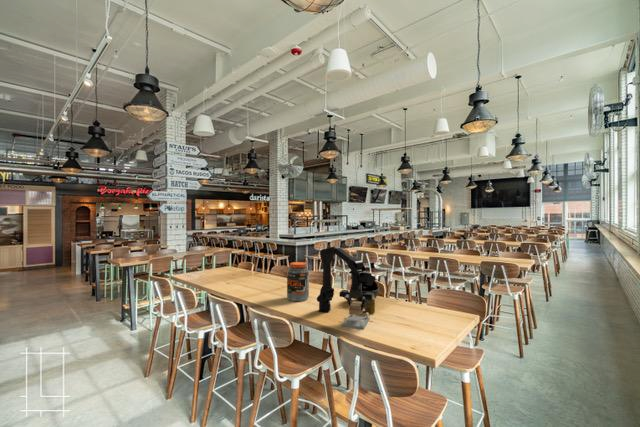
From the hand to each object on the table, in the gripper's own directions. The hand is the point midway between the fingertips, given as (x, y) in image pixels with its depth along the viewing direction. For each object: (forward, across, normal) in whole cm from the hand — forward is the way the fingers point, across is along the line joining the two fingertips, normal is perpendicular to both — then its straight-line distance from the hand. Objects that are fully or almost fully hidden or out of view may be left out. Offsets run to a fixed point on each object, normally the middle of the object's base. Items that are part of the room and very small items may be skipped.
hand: (356, 309), depth 168 cm
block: (+1, 0, 0) cm, 1 cm away
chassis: (+7, 0, 0) cm, 7 cm away
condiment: (+8, +3, +20) cm, 21 cm away
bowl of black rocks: (+8, -4, +41) cm, 42 cm away
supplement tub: (+8, -51, +31) cm, 60 cm away
